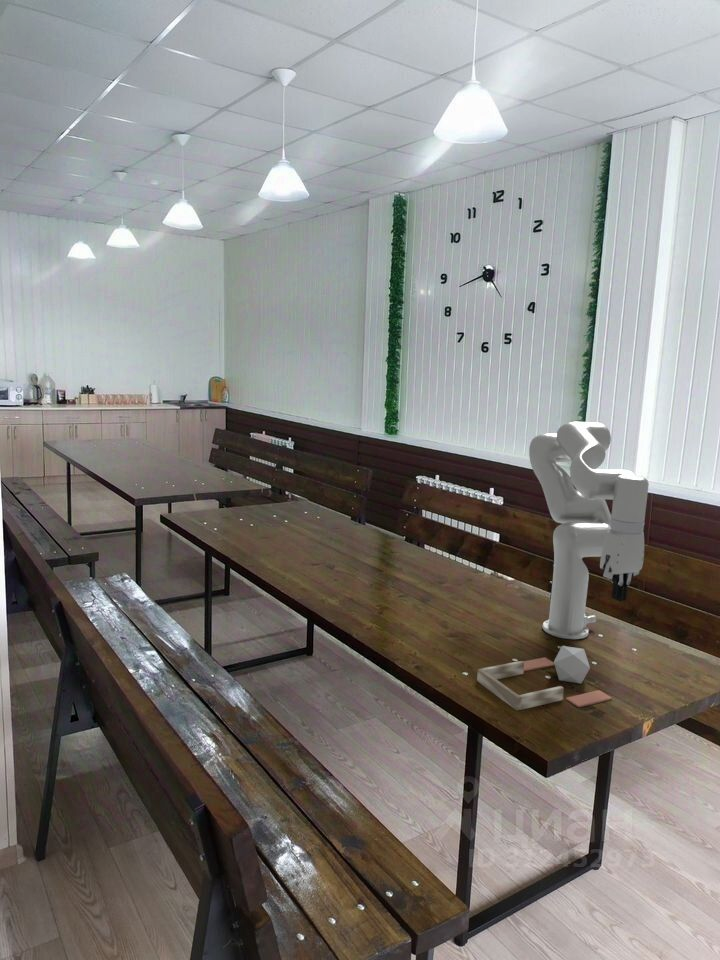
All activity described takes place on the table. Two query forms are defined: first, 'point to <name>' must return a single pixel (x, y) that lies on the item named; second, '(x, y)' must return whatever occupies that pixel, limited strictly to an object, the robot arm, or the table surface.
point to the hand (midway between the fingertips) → (618, 599)
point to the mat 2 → (588, 698)
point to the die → (571, 664)
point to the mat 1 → (537, 664)
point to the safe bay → (510, 697)
